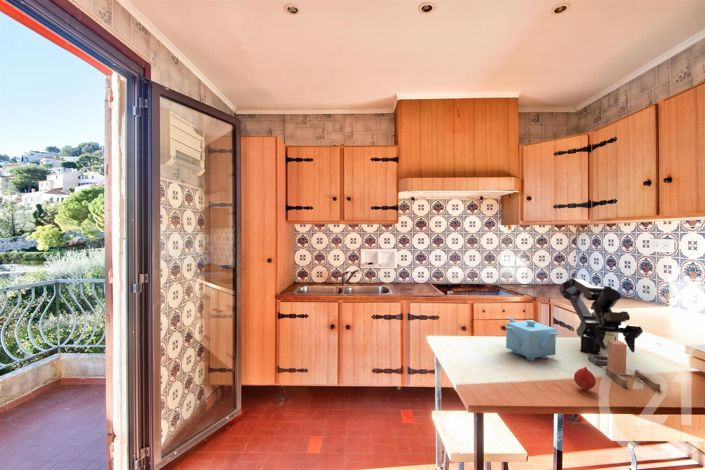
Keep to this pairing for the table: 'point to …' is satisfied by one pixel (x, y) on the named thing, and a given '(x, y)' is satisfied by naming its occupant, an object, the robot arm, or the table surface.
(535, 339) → the blue lidded box
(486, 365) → the table surface
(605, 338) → the coffee can
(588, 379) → the onion
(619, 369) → the block
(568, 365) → the table surface
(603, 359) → the tray
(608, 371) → the channel
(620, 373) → the pad
